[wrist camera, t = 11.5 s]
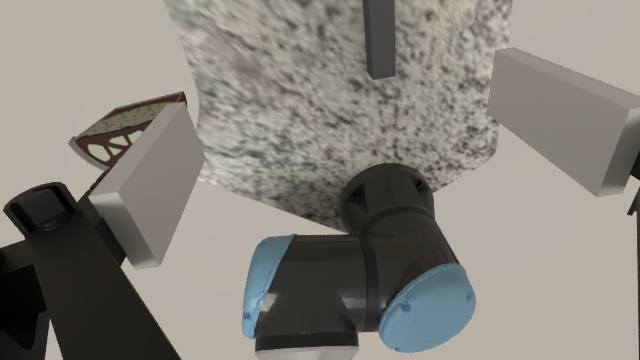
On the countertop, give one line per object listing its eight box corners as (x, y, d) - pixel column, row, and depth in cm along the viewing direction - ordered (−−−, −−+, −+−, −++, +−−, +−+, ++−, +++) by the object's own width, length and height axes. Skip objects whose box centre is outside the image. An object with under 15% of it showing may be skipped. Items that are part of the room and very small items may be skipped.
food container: (129, 150, 48) (95, 190, 40) (105, 110, 45) (62, 144, 36) (212, 130, 47) (196, 166, 39) (194, 88, 44) (171, 118, 36)
